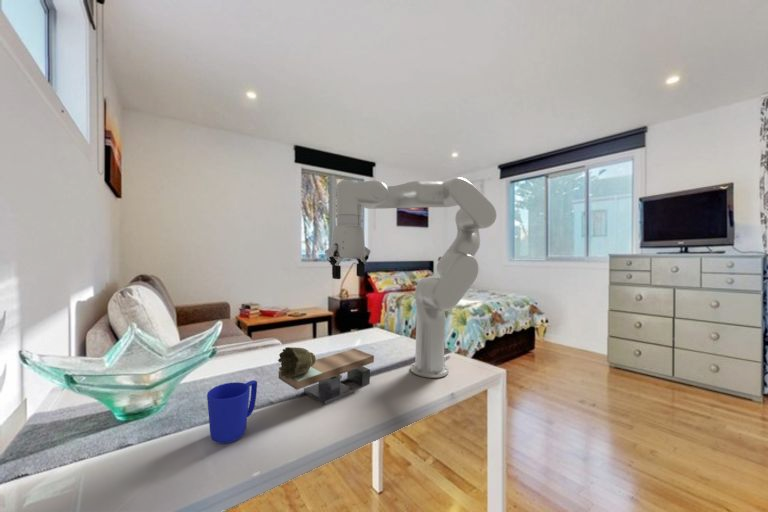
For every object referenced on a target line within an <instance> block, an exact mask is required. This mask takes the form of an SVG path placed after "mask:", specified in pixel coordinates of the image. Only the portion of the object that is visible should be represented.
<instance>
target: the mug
mask: <svg viewBox="0 0 768 512" xmlns="http://www.w3.org/2000/svg"><path fill="white" fill-rule="evenodd" d="M250 387H251V388H250ZM250 390H251V391H250ZM257 391H258V380H255V379H253V380H250V381H247V382H238V381H237V382H227V383H223V384H219V385H217V386H215V387H213V388H211V389H210V390H209V391H207V394H206V399H207V408H208V410H207V411H208V423H209V435H210V438H211V440H212V441H213V442H214V443H217V444H229V443H232V442H234V441H235V442H236V441H237V440H239V439H240V438H241V437H242V436H243V435H244V434H245V432H246V429H247V424H248V421H247V420H248V418H249V416H251V415H252V413H253V412H254V409H255V407H256V406H255V405H256V402H257V401H256V400H257Z"/></svg>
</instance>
